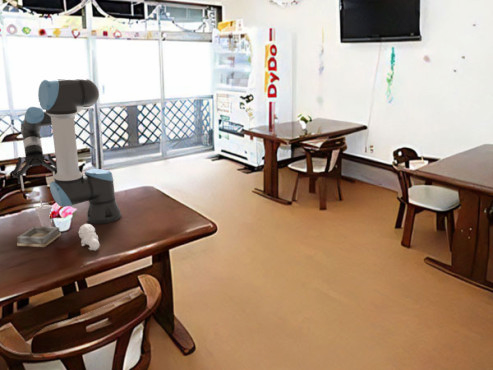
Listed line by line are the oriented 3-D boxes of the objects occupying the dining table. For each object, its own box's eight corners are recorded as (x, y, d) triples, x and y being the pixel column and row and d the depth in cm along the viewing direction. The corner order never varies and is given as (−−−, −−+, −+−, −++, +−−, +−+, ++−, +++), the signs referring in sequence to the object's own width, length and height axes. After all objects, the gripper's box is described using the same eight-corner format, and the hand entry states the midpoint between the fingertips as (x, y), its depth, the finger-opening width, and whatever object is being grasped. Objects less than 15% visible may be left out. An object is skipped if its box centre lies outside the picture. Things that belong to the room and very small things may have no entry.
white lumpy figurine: (92, 220, 172) (103, 232, 163) (94, 238, 175) (104, 251, 166) (76, 224, 168) (86, 236, 159) (78, 243, 171) (88, 256, 163)
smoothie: (42, 224, 191) (37, 195, 187) (56, 224, 192) (51, 195, 188) (36, 230, 185) (31, 200, 181) (51, 229, 186) (46, 199, 181)
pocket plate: (61, 234, 180) (59, 227, 179) (44, 246, 169) (43, 238, 168) (35, 233, 182) (33, 226, 181) (17, 245, 171) (15, 237, 170)
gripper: (61, 149, 209) (69, 186, 201) (4, 156, 198) (10, 195, 190) (61, 141, 203) (68, 178, 195) (2, 147, 192) (7, 187, 184)
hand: (39, 186), depth 193 cm, fingers open, 13 cm apart
